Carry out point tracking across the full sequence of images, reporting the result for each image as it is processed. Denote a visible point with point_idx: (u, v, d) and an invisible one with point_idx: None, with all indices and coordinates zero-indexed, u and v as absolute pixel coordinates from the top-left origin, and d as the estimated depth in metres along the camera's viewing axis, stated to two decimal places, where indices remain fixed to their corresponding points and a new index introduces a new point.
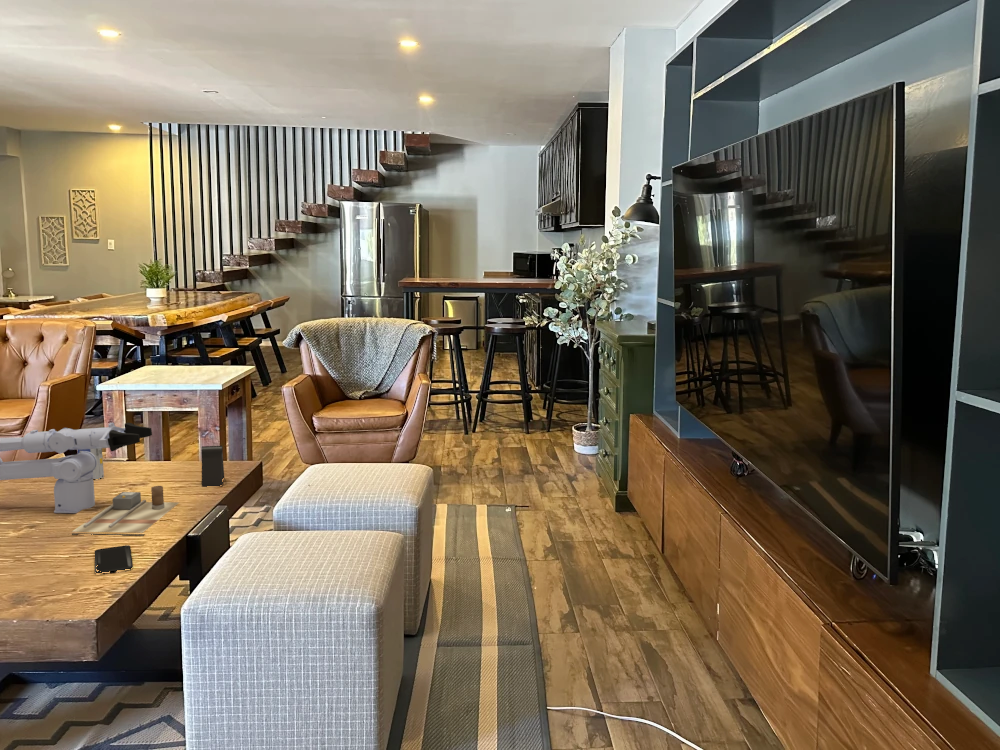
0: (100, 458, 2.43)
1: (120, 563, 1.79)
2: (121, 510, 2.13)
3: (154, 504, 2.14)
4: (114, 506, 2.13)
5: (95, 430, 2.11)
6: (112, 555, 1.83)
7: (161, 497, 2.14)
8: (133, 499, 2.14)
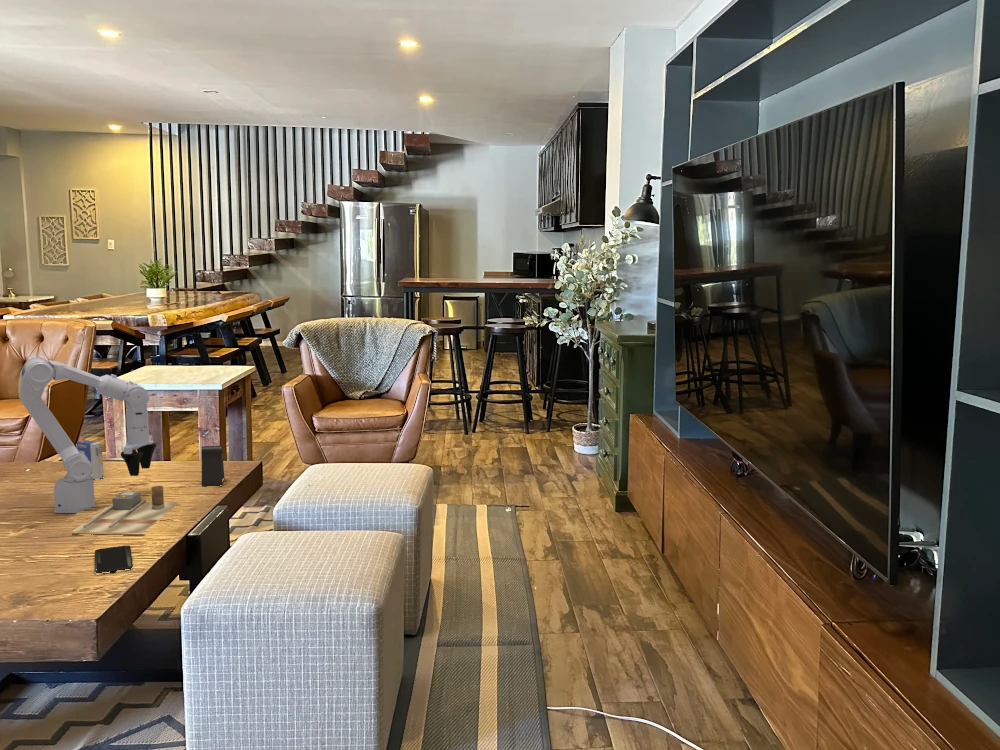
0: (100, 458, 2.43)
1: (120, 563, 1.79)
2: (121, 510, 2.13)
3: (154, 504, 2.14)
4: (114, 506, 2.13)
5: (144, 430, 2.21)
6: (112, 555, 1.83)
7: (161, 497, 2.14)
8: (133, 499, 2.14)
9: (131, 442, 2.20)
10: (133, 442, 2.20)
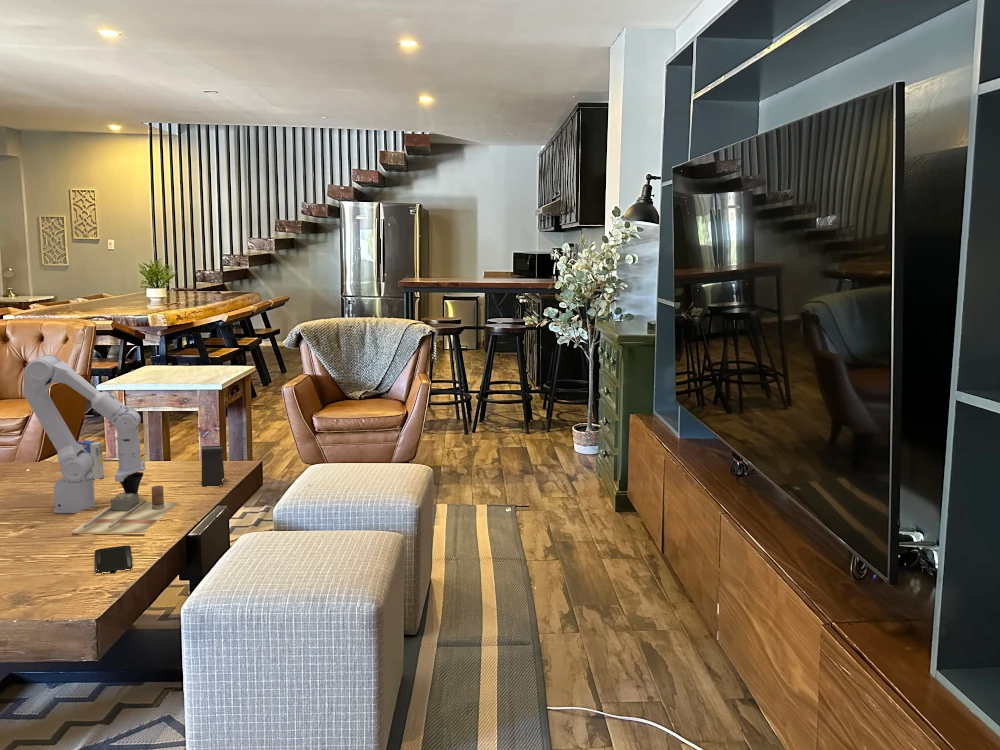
0: (100, 458, 2.43)
1: (120, 563, 1.79)
2: None
3: (154, 504, 2.14)
4: (112, 507, 2.12)
5: (136, 456, 2.16)
6: (112, 555, 1.83)
7: (161, 497, 2.14)
8: (131, 501, 2.13)
9: (122, 469, 2.15)
10: (125, 469, 2.15)
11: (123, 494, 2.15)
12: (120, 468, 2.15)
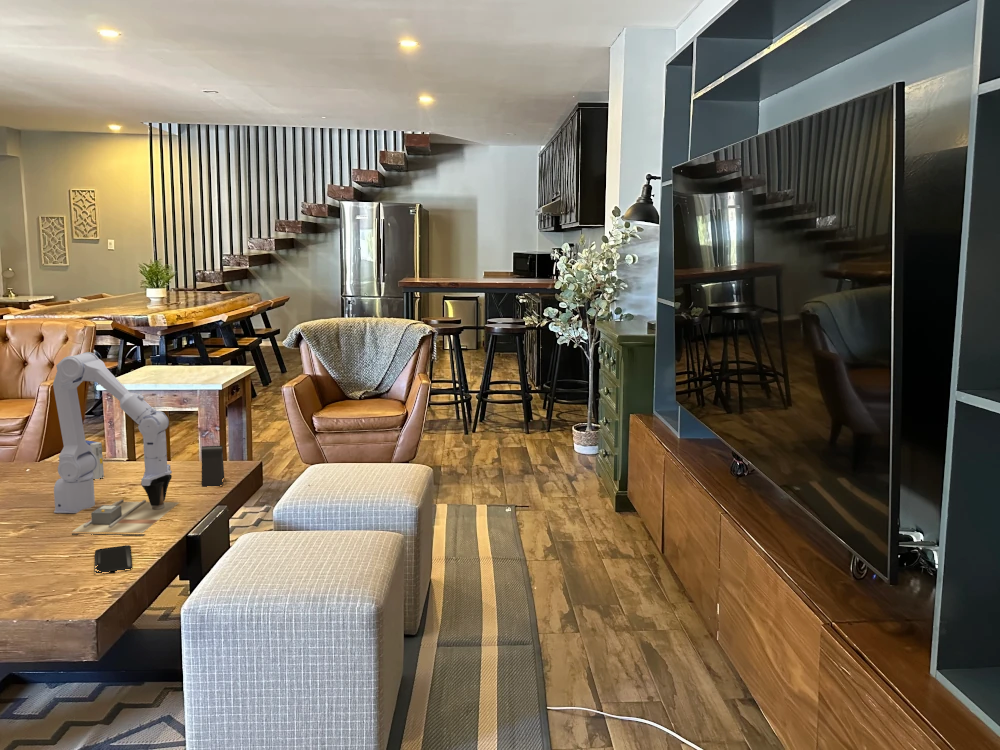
0: (100, 458, 2.43)
1: (120, 563, 1.79)
2: (121, 510, 2.13)
3: None
4: (93, 521, 2.01)
5: (162, 460, 2.12)
6: (112, 555, 1.83)
7: (162, 497, 2.15)
8: (113, 514, 2.03)
9: (149, 473, 2.11)
10: (151, 473, 2.11)
11: (105, 506, 2.05)
12: (146, 472, 2.11)
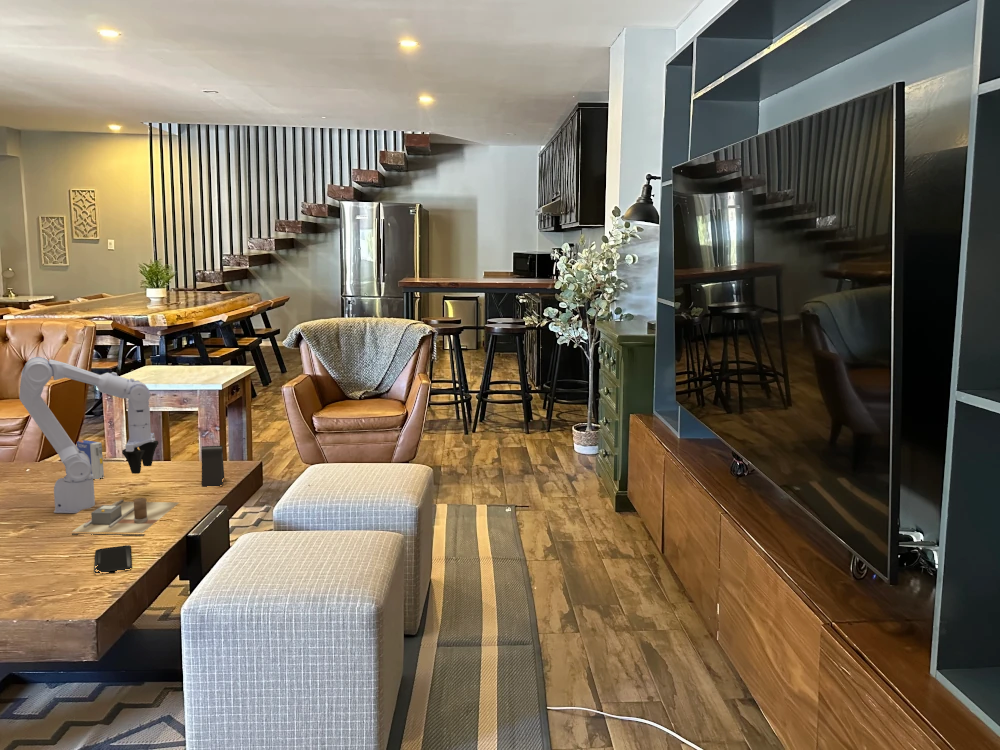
0: (100, 458, 2.43)
1: (120, 563, 1.79)
2: (121, 510, 2.13)
3: (138, 518, 2.03)
4: (93, 521, 2.01)
5: (146, 427, 2.19)
6: (112, 555, 1.83)
7: (145, 510, 2.04)
8: (113, 514, 2.03)
9: (133, 440, 2.18)
10: (135, 440, 2.18)
11: (105, 506, 2.05)
12: (130, 439, 2.19)
